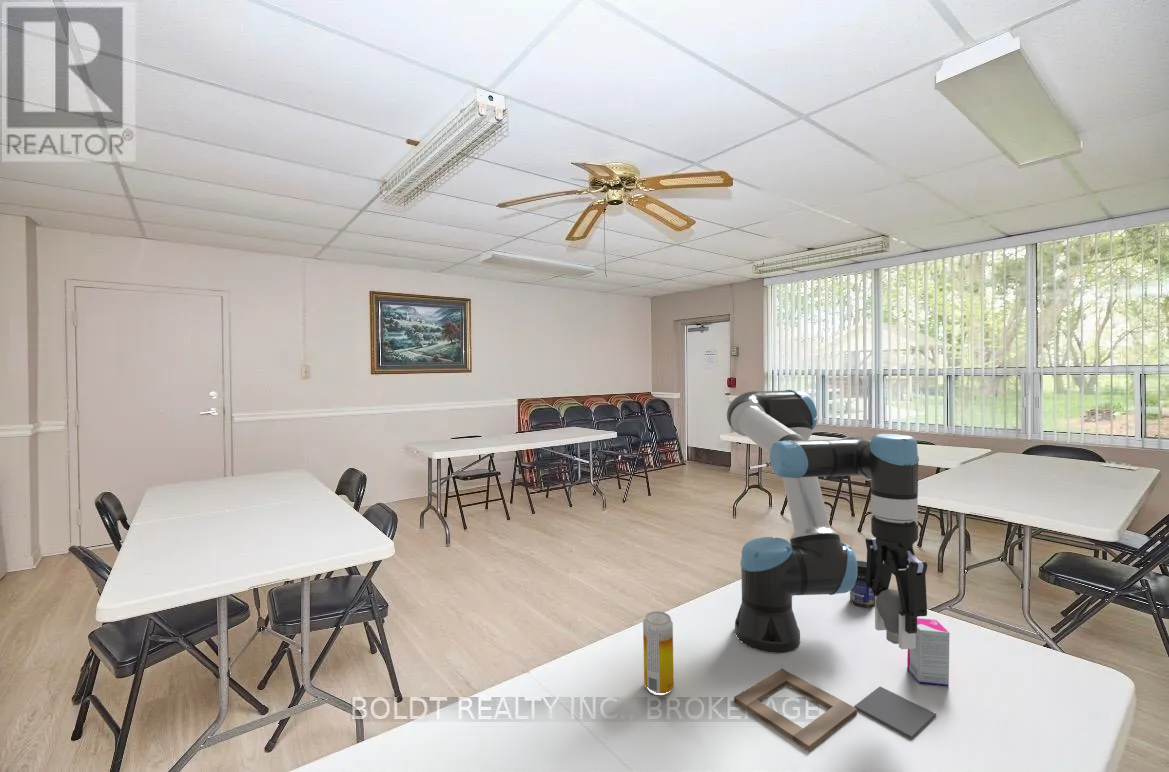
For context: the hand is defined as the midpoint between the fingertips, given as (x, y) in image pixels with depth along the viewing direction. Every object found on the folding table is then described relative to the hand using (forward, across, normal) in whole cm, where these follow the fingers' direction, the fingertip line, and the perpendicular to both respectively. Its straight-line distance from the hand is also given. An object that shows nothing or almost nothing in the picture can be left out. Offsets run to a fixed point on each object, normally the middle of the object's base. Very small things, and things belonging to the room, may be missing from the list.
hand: (894, 637), depth 95 cm
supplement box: (+15, +10, -14) cm, 23 cm away
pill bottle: (+15, +43, -22) cm, 50 cm away
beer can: (+15, +12, +43) cm, 47 cm away
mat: (+15, 0, 0) cm, 15 cm away
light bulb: (+1, 0, 0) cm, 1 cm away
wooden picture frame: (+15, +4, +18) cm, 24 cm away
